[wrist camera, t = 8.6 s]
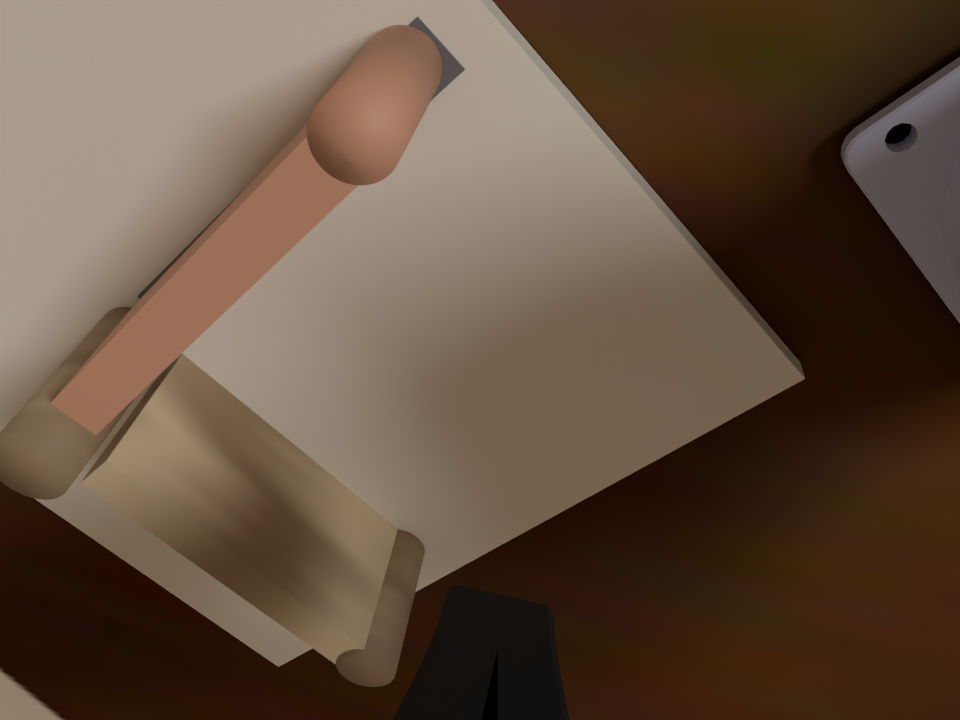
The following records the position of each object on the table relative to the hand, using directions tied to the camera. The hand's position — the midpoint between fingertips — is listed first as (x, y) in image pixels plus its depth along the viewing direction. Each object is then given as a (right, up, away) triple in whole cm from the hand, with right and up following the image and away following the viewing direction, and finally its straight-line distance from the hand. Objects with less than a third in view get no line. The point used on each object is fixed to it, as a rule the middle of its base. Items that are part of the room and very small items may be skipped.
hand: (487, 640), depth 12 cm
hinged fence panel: (-4, +7, +5) cm, 10 cm away
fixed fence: (-5, +2, +10) cm, 11 cm away
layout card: (-7, +6, +8) cm, 12 cm away
